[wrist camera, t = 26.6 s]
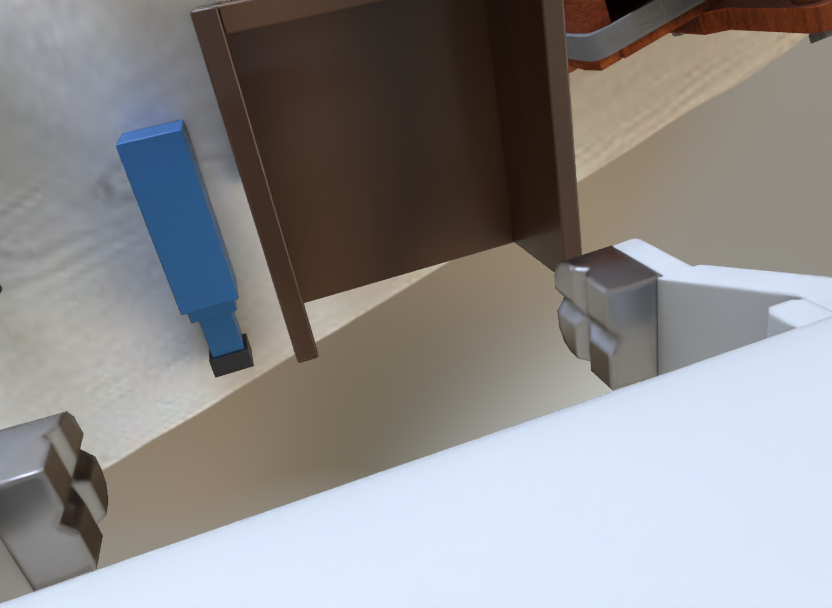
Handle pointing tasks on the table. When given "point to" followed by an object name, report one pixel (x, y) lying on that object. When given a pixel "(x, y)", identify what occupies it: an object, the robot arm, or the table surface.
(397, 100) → the wooden pedestal stand
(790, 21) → the milk bottle holder
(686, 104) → the table surface
